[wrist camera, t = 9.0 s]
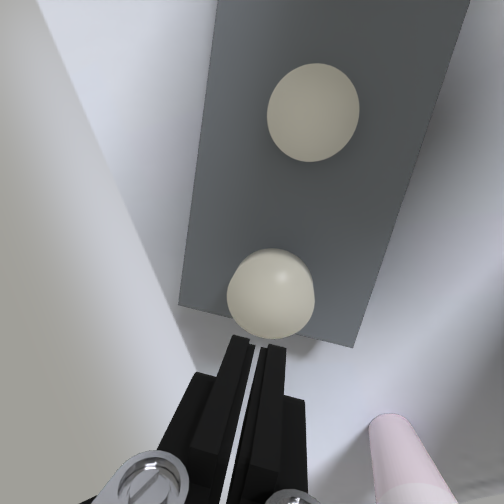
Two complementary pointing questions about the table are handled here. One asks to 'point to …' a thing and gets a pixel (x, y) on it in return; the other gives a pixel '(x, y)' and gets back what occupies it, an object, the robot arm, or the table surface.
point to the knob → (271, 294)
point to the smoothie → (404, 465)
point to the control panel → (319, 172)
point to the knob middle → (313, 112)
